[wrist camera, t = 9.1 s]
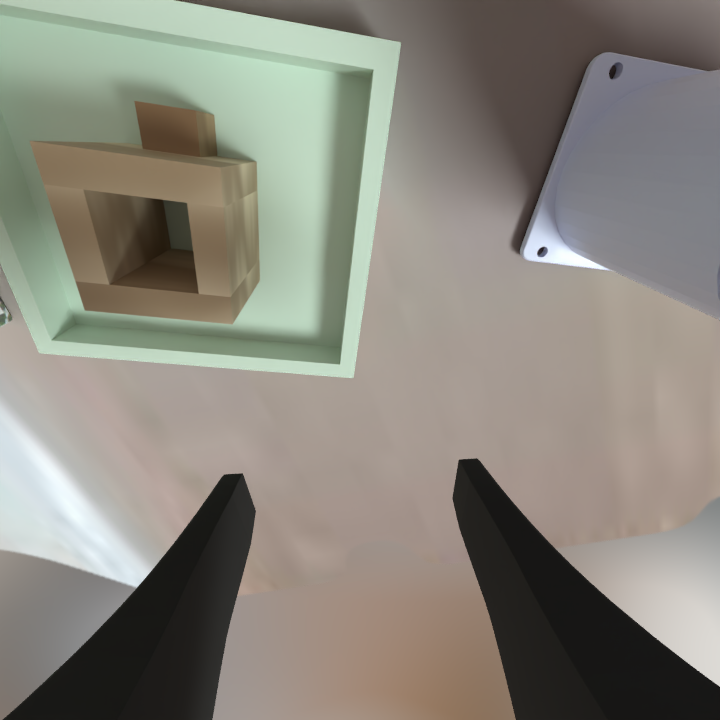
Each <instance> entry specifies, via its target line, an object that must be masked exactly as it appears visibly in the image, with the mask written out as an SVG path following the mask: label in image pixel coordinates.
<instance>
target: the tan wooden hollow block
mask: <svg viewBox="0 0 720 720" xmlns="http://www.w3.org/2000/svg"><path fill="white" fill-rule="evenodd" d="M134 102H135V108H136V113H137V119H138V124H139V130H140V136H141V141H142V145H137V144H130V143H109V142H61V141H30V145H31V148H32V151H33V154H34V157H35V160H36V163H37V166H38V169H39V172H40V175H41V178H42V181H43V184H44V187H45V190H46V193H47V197H48V200H49V203H50V206H51V209H52V212H53V215H54V218H55V221H56V224H57V227H58V230H59V233H60V236H61V239H62V242H63V245H64V248H65V252H66V255H67V258H68V261H69V264H70V267H71V270H72V273H73V276H74V279H75V282H76V285H77V288H78V291H79V294H80V297H81V300H82V304H83V307H84V310H85V311H95V312H106V313H116V314H127V315H138V316H148V317H159V318H170V319H180V320H191V321H201V322H212V323H223V324H233V323H234V321H235V320H236V318H237V317H238V315H239V313H240V312H241V310H242V309H243V307H244V305H245V304H246V302H247V301H248V299H249V297H250V296H251V294H252V293H253V291H254V289H255V288H256V286H257V285H258V283H259V281H260V260H259V225H258V190H257V162H256V161H249V160H242V159H235V158H228V157H221V156H217V143H216V131H215V119H214V115H212V114H208V113H204V112H200V111H196V110H190V109H184V108H177V107H171V106H164V105H158V104H152V103H145V102H139V101H134ZM163 200H169V201H176V202H184V203H187V207H188V215H189V223H190V230H191V238H192V246H193V251H189V250H180V249H172V248H171V245H170V239H169V233H168V227H167V220H166V214H165V208H164V202H163Z"/></svg>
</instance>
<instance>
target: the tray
mask: <svg viewBox="0 0 720 720" xmlns="http://www.w3.org/2000/svg"><path fill="white" fill-rule="evenodd" d="M400 48H401V42H397V41H391V40H386V39H381V38H375V37H370V36H364V35H359V34H354V33H348V32H343V31H337V30H332V29H327V28H321V27H316V26H311V25H305V24H300V23H294V22H289V21H284V20H278V19H273V18H267V17H262V16H257V15H251V14H246V13H241V12H235V11H230V10H224V9H219V8H214V7H208V6H203V5H197V4H192V3H187V2H181V1H176V0H0V264H1V267H2V269H3V271H4V273H5V276H6V278H7V280H8V283H9V285H10V287H11V289H12V292H13V294H14V296H15V299H16V301H17V303H18V305H19V308H20V310H21V312H22V315H23V317H24V319H25V321H26V324H27V326H28V328H29V331H30V333H31V335H32V337H33V340H34V342H35V344H36V347H37V349H38V351H39V353H42V354H55V355H67V356H80V357H93V358H105V359H118V360H130V361H143V362H156V363H168V364H181V365H193V366H206V367H219V368H231V369H244V370H257V371H269V372H282V373H294V374H307V375H320V376H332V377H345V378H353V377H354V370H355V363H356V356H357V349H358V342H359V335H360V328H361V321H362V314H363V307H364V300H365V293H366V286H367V279H368V272H369V265H370V258H371V251H372V244H373V237H374V230H375V223H376V216H377V209H378V202H379V195H380V188H381V181H382V174H383V167H384V160H385V153H386V146H387V139H388V132H389V125H390V118H391V111H392V104H393V97H394V90H395V83H396V76H397V69H398V62H399V55H400ZM134 101H139V102H145V103H152V104H158V105H164V106H171V107H177V108H184V109H190V110H196V111H200V112H204V113H208V114H212V115H214V119H215V131H216V143H217V156H221V157H228V158H235V159H242V160H249V161H256V162H257V190H258V225H259V260H260V281H259V283H258V285H257V286H256V288H255V289H254V291H253V293H252V294H251V296H250V297H249V299H248V301H247V302H246V304H245V305H244V307H243V309H242V310H241V312H240V313H239V315H238V317H237V318H236V320H235V321H234V323H233V324H223V323H212V322H201V321H191V320H180V319H170V318H159V317H148V316H138V315H127V314H116V313H106V312H95V311H85V310H84V307H83V304H82V300H81V297H80V294H79V291H78V288H77V285H76V282H75V279H74V276H73V273H72V270H71V267H70V264H69V261H68V258H67V255H66V252H65V248H64V245H63V242H62V239H61V236H60V233H59V230H58V227H57V224H56V221H55V218H54V215H53V212H52V209H51V206H50V203H49V200H48V197H47V193H46V190H45V187H44V184H43V181H42V178H41V175H40V172H39V169H38V166H37V163H36V160H35V157H34V154H33V151H32V148H31V145H30V141H61V142H109V143H130V144H137V145H142V141H141V136H140V130H139V124H138V119H137V113H136V108H135V102H134ZM163 202H164V208H165V214H166V220H167V227H168V233H169V239H170V245H171V248H172V249H180V250H189V251H193V246H192V238H191V230H190V223H189V215H188V207H187V203H184V202H176V201H169V200H163Z"/></svg>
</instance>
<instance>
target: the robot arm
mask: <svg viewBox="0 0 720 720" xmlns="http://www.w3.org/2000/svg"><path fill="white" fill-rule="evenodd" d="M612 65H615V67H616V73H615V75H614V77H613V78H612V79H610V77H609V71H610V69H611V67H612ZM541 247H544V250H543V252H542V253H541V254H540V255H537V251H538V250H539V249H540V248H541ZM520 255H521V256H522V258H524V259H525V260H528V261H535V262H544V263H552V264H560V265H568V266H576V267H585V268H593V269H601V270H609V271H614V272H616V273H618V274H620V275H622V276H625V277H627V278H629V279H631V280H633V281H636V282H638V283H640V284H642V285H644V286H646V287H649V288H651V289H653V290H655V291H657V292H660V293H662V294H664V295H666V296H668V297H670V298H673V299H675V300H677V301H679V302H681V303H684V304H686V305H688V306H690V307H692V308H694V309H697V310H699V311H701V312H703V313H705V314H707V315H710V316H712V317H714V318H716V319H718V320H720V69H719V70H714V71H704V70H699V69H694V68H689V67H684V66H679V65H673V64H668V63H663V62H658V61H653V60H648V59H643V58H638V57H633V56H627V55H622V54H617V53H612V52H605V53H602V54H600V55H598V56H596V57H595V58H594V59H593V60H592V61H591V62H590V63H589V65H588V67H587V70H586V72H585V75H584V78H583V80H582V83H581V86H580V88H579V91H578V94H577V97H576V99H575V102H574V105H573V107H572V110H571V113H570V115H569V118H568V121H567V124H566V126H565V129H564V132H563V134H562V137H561V140H560V142H559V145H558V148H557V151H556V153H555V156H554V159H553V161H552V164H551V167H550V169H549V172H548V175H547V178H546V180H545V183H544V186H543V188H542V191H541V194H540V197H539V199H538V202H537V205H536V207H535V210H534V213H533V215H532V218H531V221H530V224H529V226H528V229H527V232H526V234H525V237H524V240H523V242H522V245H521V248H520ZM453 502H454V507H455V511H456V516H457V520H458V524H459V528H460V531H461V534H462V537H463V540H464V543H465V546H466V549H467V552H468V554H469V557H470V560H471V563H472V566H473V569H474V571H475V574H476V577H477V580H478V583H479V586H480V589H481V591H482V594H483V597H484V600H485V602H486V606H487V609H488V612H489V615H490V619H491V622H492V626H493V630H494V634H495V637H496V641H497V645H498V649H499V652H500V656H501V660H502V664H503V668H504V672H505V676H506V680H507V685H508V689H509V692H510V697H511V701H512V705H513V709H514V713H515V718H516V720H720V687H719V686H718V685H717V684H715V683H714V682H712V681H711V680H709V679H708V678H707V677H705V676H704V675H703V674H701V673H700V672H699V671H697V670H696V669H695V668H693V667H692V666H691V665H689V664H688V663H687V662H685V661H684V660H683V659H682V658H680V657H679V656H678V655H676V654H675V653H674V652H672V651H671V650H670V649H669V648H668V647H666V646H665V645H663V644H662V643H661V642H660V641H659V640H657V639H656V638H655V637H653V636H652V635H651V634H650V633H649V632H647V631H646V630H645V629H644V628H643V627H641V626H640V625H639V624H638V623H637V622H635V621H634V620H633V619H632V618H631V617H629V616H628V615H627V614H626V613H624V612H623V611H622V610H621V609H620V608H619V607H617V606H616V605H615V604H614V603H613V602H611V601H610V600H609V599H608V598H607V597H606V596H605V595H604V594H602V593H601V592H600V591H599V590H598V589H597V588H596V587H595V586H594V585H592V584H591V583H590V582H589V581H588V580H587V579H586V578H585V577H584V576H583V575H582V574H581V573H579V572H578V571H577V570H576V569H575V568H574V567H573V566H572V565H571V564H570V563H569V562H568V561H567V560H566V559H565V558H564V557H563V556H562V555H561V554H560V553H559V552H558V551H557V550H556V549H555V548H554V547H553V546H552V545H551V544H550V543H549V542H548V541H547V540H546V539H545V538H544V537H543V535H542V534H541V533H540V532H539V531H538V530H537V529H536V528H535V527H534V526H533V525H532V524H531V522H530V521H529V520H528V519H527V518H526V517H525V516H524V514H523V513H522V512H521V511H520V510H519V509H518V508H517V506H516V505H515V504H514V503H513V502H512V501H511V499H510V498H509V497H508V496H507V495H506V493H505V492H504V491H503V490H502V489H501V487H500V486H499V485H498V484H497V482H496V481H495V480H494V479H493V477H492V476H491V475H490V474H489V472H488V471H487V470H486V468H485V467H484V466H483V464H482V463H481V462H480V461H479V460H478V459H462V460H459V462H458V468H457V474H456V480H455V486H454V492H453ZM255 512H256V510H255V508H254V505H253V502H252V499H251V496H250V493H249V490H248V487H247V484H246V482H245V479H244V476H243V473H242V474H227V475H224V476H223V477H222V478H221V479H220V481H219V482H218V483H217V485H216V486H215V488H214V489H213V491H212V492H211V493H210V495H209V496H208V498H207V499H206V501H205V502H204V503H203V505H202V506H201V508H200V509H199V510H198V512H197V513H196V515H195V516H194V517H193V519H192V520H191V521H190V523H189V524H188V525H187V527H186V528H185V529H184V531H183V532H182V533H181V535H180V536H179V537H178V539H177V540H176V541H175V543H174V544H173V545H172V546H171V548H170V549H169V550H168V551H167V553H166V554H165V555H164V556H163V557H162V559H161V560H160V561H159V562H158V564H157V565H156V566H155V567H154V569H153V570H152V571H151V572H150V573H149V575H148V576H147V577H146V578H145V579H144V580H143V582H142V583H141V584H140V585H139V586H138V587H137V589H136V590H135V591H134V592H133V593H132V594H131V595H130V596H129V598H128V599H127V600H126V601H125V602H124V603H123V604H122V605H121V607H119V608H118V609H117V611H116V612H115V613H114V614H113V615H112V616H111V617H110V618H109V619H108V620H107V621H106V622H105V623H104V624H103V625H102V626H101V627H100V628H99V629H98V630H97V632H95V634H94V635H93V636H92V637H91V638H90V639H89V640H88V641H87V642H86V643H85V644H84V645H83V646H82V647H81V648H80V649H79V650H78V651H77V652H76V653H74V654H73V655H72V656H71V657H70V658H69V659H68V660H67V661H66V662H65V663H64V664H63V665H62V666H61V667H60V668H59V669H58V670H57V671H55V672H54V673H53V674H52V675H51V676H50V677H49V678H48V679H47V680H46V681H45V682H44V683H43V684H42V685H41V686H39V687H38V688H37V689H36V690H35V691H34V692H33V693H32V694H31V695H30V696H29V697H28V698H27V699H25V700H24V701H23V702H22V703H21V704H20V705H19V706H18V707H17V708H16V709H15V710H13V711H12V712H11V713H10V714H9V715H7V717H5V718H4V719H3V720H212V718H213V712H214V706H215V699H216V694H217V688H218V682H219V676H220V670H221V665H222V659H223V654H224V648H225V643H226V637H227V633H228V629H229V624H230V620H231V616H232V613H233V609H234V605H235V601H236V598H237V594H238V590H239V587H240V583H241V579H242V575H243V572H244V568H245V564H246V560H247V556H248V553H249V549H250V545H251V539H252V533H253V527H254V520H255Z"/></svg>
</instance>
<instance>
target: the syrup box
mask: <svg viewBox="0 0 720 720" xmlns="http://www.w3.org/2000/svg"><path fill="white" fill-rule="evenodd" d="M11 320H12V317H11V315H10V314H9V312H8V310H7V309H6V307H5V305H4V304H3V302H2V301H1V299H0V327H1V326H3V325H5V324H6V323H8V322H10V321H11Z"/></svg>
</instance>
